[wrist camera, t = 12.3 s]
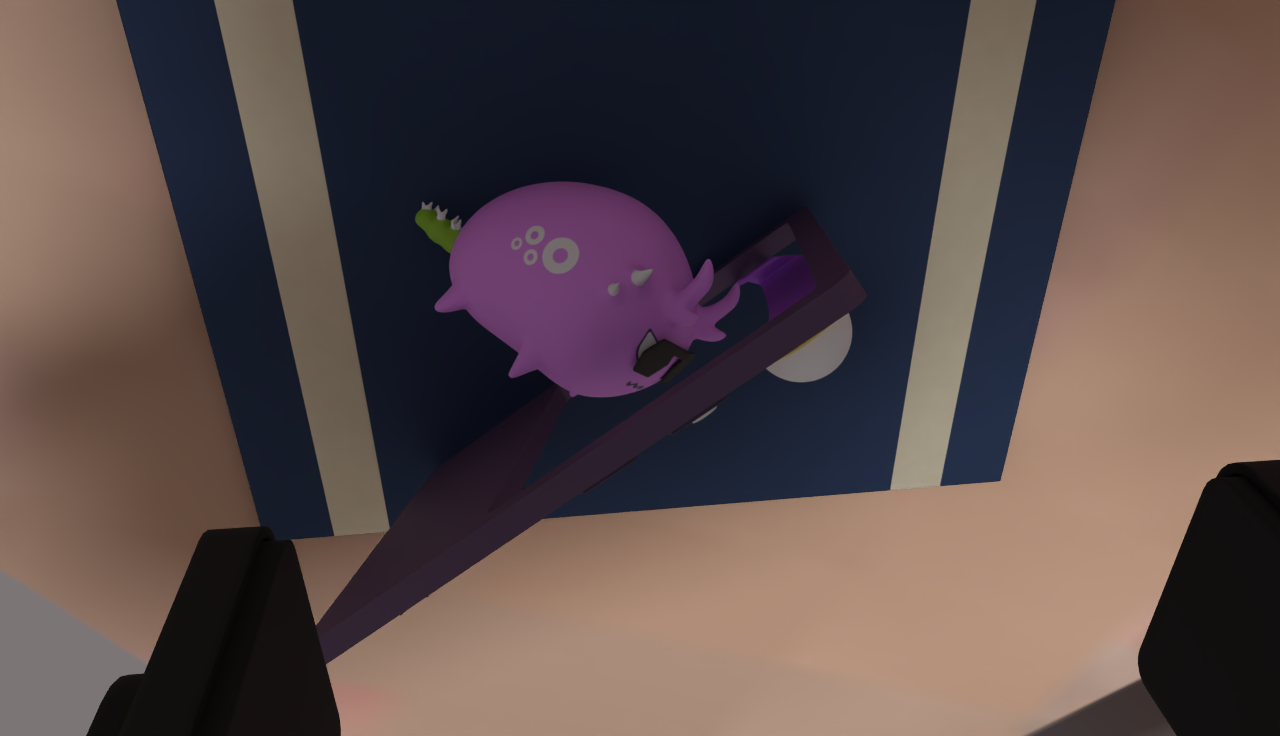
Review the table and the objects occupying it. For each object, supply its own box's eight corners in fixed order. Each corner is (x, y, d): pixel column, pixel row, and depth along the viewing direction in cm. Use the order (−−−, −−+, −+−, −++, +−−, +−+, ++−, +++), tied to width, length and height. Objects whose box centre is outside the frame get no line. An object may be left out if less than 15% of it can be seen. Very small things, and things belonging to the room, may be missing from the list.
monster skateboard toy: (347, 712, 14) (905, 349, 12) (86, 422, 13) (641, -29, 11) (469, 510, 20) (840, 254, 18) (301, 308, 19) (672, 13, 17)
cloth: (1130, -116, 16) (1144, -113, 16) (993, 470, 22) (1001, 481, 22) (99, -95, 14) (89, -92, 14) (268, 529, 21) (264, 543, 20)
